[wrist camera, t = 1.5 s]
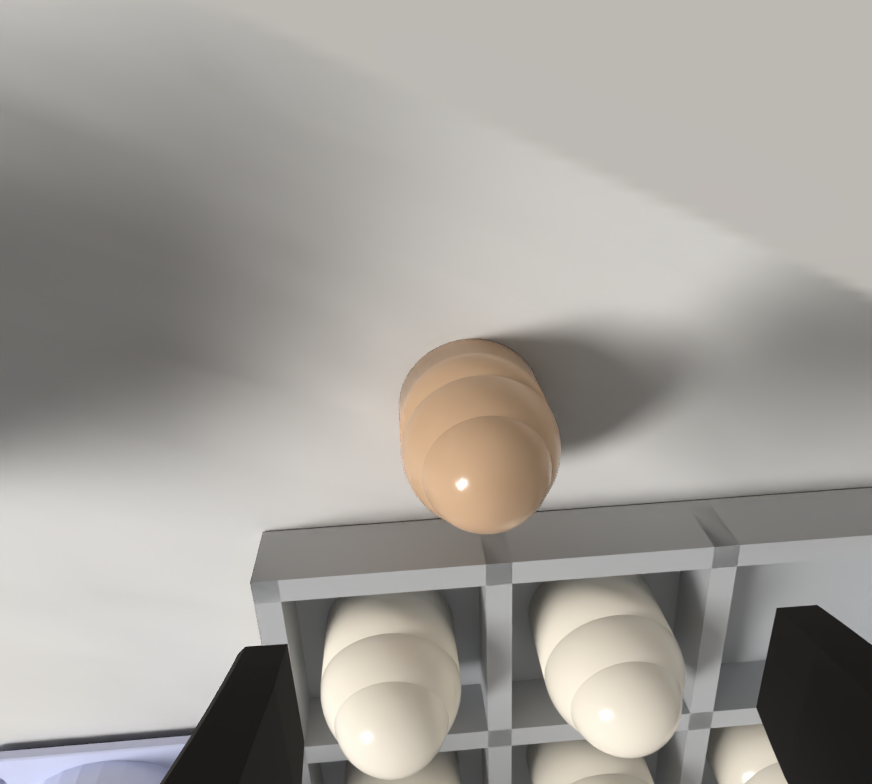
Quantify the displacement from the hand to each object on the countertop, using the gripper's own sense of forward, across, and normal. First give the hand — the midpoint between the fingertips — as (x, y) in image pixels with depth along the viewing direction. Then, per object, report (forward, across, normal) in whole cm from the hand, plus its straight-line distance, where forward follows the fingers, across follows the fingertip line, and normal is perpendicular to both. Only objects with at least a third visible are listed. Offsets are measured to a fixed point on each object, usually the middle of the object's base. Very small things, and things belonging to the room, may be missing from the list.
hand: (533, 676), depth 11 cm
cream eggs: (+9, -4, +10) cm, 14 cm away
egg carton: (+9, -4, +10) cm, 14 cm away
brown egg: (+10, 0, 0) cm, 10 cm away
